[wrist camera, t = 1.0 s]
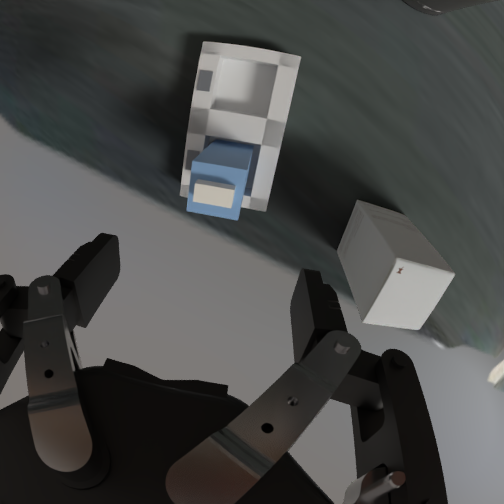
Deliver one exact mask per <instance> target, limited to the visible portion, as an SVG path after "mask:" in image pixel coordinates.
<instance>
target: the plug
mask: <svg viewBox="0 0 504 504" xmlns="http://www.w3.org/2000/svg"><path fill="white" fill-rule="evenodd" d="M253 148H254V146H252V145H247V144H241V143H236V142H230V141H224V140H218V139H215V140H214V141H213V142H212V143H211V144H210V145H209V146H208V147H207V148H206V149H204V150H203V151H202V152H201V153H200V154H199V155H198V156H197V157H196V158H195V159H194V160H193V161H192V167H191V175H190V184H189V193H188V202H187V211H189V212H195V213H201V214H206V215H212V216H217V217H222V218H228V219H233V220H238V217H239V213H240V209H241V204H242V200H243V196H244V191H245V187H246V183H247V178H248V173H249V168H250V163H251V158H252V153H253Z"/></svg>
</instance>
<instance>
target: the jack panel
mask: <svg viewBox="0 0 504 504" xmlns="http://www.w3.org/2000/svg"><path fill="white" fill-rule="evenodd" d="M300 59H301V57H300V56H296V55H291V54H287V53H282V52H277V51H272V50H267V49H261V48H255V47H249V46H242V45H234V44H226V43H217V42H206V41H203V45H202V50H201V55H200V60H199V65H198V70H197V75H196V81H195V87H194V92H193V98H192V104H191V111H190V117H189V124H188V131H187V138H186V146H185V154H184V162H183V171H182V180H181V190H180V196H183V197H188V193H189V184H190V175H191V167H192V161H193V160H194V159H195V158H196V157H197V156H198V155H199V154H200V153H201V152H202V151H203V150H204V149H206V148H207V147H208V146H209V145H210V144H211V143H212V142H213V141H214V140H215V139H218V140H224V141H230V142H236V143H241V144H247V145H252V146H254V148H253V153H252V158H251V163H250V168H249V173H248V178H247V183H246V187H245V191H244V196H243V200H242V204H241V207H244V208H249V209H254V210H259V211H264V212H266V208H267V204H268V200H269V195H270V191H271V187H272V182H273V178H274V174H275V169H276V165H277V161H278V156H279V152H280V147H281V143H282V139H283V134H284V130H285V126H286V121H287V117H288V112H289V108H290V103H291V99H292V95H293V90H294V86H295V81H296V77H297V72H298V68H299V64H300Z"/></svg>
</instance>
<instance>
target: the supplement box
mask: <svg viewBox="0 0 504 504" xmlns="http://www.w3.org/2000/svg"><path fill="white" fill-rule="evenodd" d="M337 254H338V256H339V259H340V261H341V264H342V267H343V269H344V272H345V275H346V277H347V280H348V283H349V286H350V288H351V291H352V294H353V297H354V300H355V302H356V305H357V308H358V311H359V314H360V317H361V320H362V323H367V324H375V325H383V326H390V327H397V328H405V329H413V330H419V329H420V328H421V326H422V325H423V324H424V322H425V321H426V319H427V318H428V316H429V315H430V313H431V312H432V310H433V309H434V307H435V306H436V304H437V303H438V301H439V300H440V298H441V296H442V295H443V293H444V292H445V290H446V288H447V287H448V285H449V284H450V282H451V281H452V279H453V277H454V276H455V273H454V272H453V270H452V269H451V268H450V266H449V265H448V264H447V263H446V261H445V260H444V259H443V258H442V256H441V255H440V254H439V253H438V252H437V250H436V249H435V248H434V247H433V246H432V245H431V243H430V242H429V241H428V240H427V239H426V238H425V237H424V235H423V234H422V233H421V232H420V231H419V230H418V229H417V228H416V227H415V225H414V224H413V223H412V222H411V221H410V220H409V219H408V218H407V216H406V215H403V214H400V213H398V212H395V211H392V210H389V209H386V208H383V207H380V206H376V205H373V204H370V203H367V202H364V201H360V200H357V201H356V204H355V206H354V209H353V211H352V214H351V217H350V219H349V222H348V224H347V227H346V229H345V232H344V234H343V236H342V239H341V242H340V244H339V246H338V249H337Z"/></svg>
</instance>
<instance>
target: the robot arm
mask: <svg viewBox="0 0 504 504" xmlns="http://www.w3.org/2000/svg"><path fill="white" fill-rule="evenodd" d="M403 1H404V2H406V3H407V4H408V5H409V6H411V7H413V8H414V9H416V10H418V11H420V12H423V13H426V14H430V15H440V14H444V13H447V12H451V11H454V10H458V9H462V8H466V7H470V6H474V5H479V4H483V3H488V2H493V1H498V0H403ZM119 273H120V256H119V242H118V237H117V236H116V235H110V234H106V233H100V234H99V235H98V236H97V237H96V238H95V239H94V240H93V241H92V242H88V243H86V244H84V245H82V246H80V247H79V248H78V249H77V251H75V252H74V254H72V256H71V257H70V258H69V260H67V261H66V262H65V263H64V264H63V265H62V266H61V267H60V268H59V269H58V270H57V272H56V273H55V274H54V275H53V276H50V275H46V276H41V277H39V278H37V279H35V280H34V281H33V282H32V283H31V284H30V286H29V287H28V286H16V284H15V281H14V278H13V277H12V276H11V275H6V274H5V275H0V322H1V324H2V326H3V328H2V329H1V331H0V394H1V392H2V390H3V388H4V386H5V384H6V382H7V380H8V378H9V376H10V374H11V372H12V370H13V369H14V367H15V365H16V363H17V361H18V360H19V358H20V356H21V354H22V353H23V351H24V356H25V368H26V377H27V386H28V393H29V395H28V396H26V397H25V398H22V399H21V400H19V401H17V402H15V403H13V404H11V405H9V406H7V407H5V408H3V409H1V410H0V504H334V503H333V501H332V500H331V499H330V498H329V497H328V496H327V495H326V494H325V493H324V492H323V491H322V490H321V489H320V487H319V486H318V485H317V484H316V483H315V482H314V481H313V480H312V479H311V478H310V476H309V475H308V474H307V473H306V472H305V471H304V470H303V469H302V467H301V466H300V465H299V464H298V463H297V462H296V461H295V460H294V458H293V457H292V456H291V455H290V453H288V450H289V449H290V448H291V447H292V446H293V445H294V444H295V442H296V441H297V440H298V439H299V437H300V436H301V435H302V434H303V433H304V432H305V430H306V429H307V428H308V427H309V425H310V424H311V423H312V421H313V420H314V419H315V418H316V417H317V415H318V414H319V413H320V411H321V410H322V409H323V407H324V406H325V405H326V404H327V402H328V401H329V399H333V400H336V401H339V402H343V403H346V404H349V405H350V407H351V415H352V425H353V434H354V444H355V456H356V469H357V480H355V481H353V482H352V483H351V484H350V485H349V486H348V487H347V489H346V492H345V497H344V502H343V504H448V500H447V495H446V488H445V482H444V476H443V471H442V466H441V461H440V457H439V452H438V447H437V443H436V439H435V435H434V431H433V427H432V423H431V419H430V416H429V412H428V409H427V405H426V402H425V398H424V395H423V392H422V389H421V386H420V382H419V379H418V376H417V373H416V370H415V367H414V364H413V362H412V360H411V359H410V357H409V356H408V355H407V354H405V353H404V352H402V351H400V350H397V349H388V350H386V351H385V352H384V353H383V354H382V356H378V355H375V354H372V353H369V352H366V351H363V350H362V349H361V345H360V343H359V341H358V340H357V339H356V338H355V337H354V336H353V335H351V334H349V333H348V331H347V328H346V325H345V321H344V317H343V314H342V311H341V307H340V304H339V303H338V302H339V301H338V297H337V294H336V292H335V291H334V290H333V288H332V287H331V286H330V285H329V284H323V281H322V278H321V274H320V272H319V271H315V270H309V269H302V270H301V271H300V274H299V277H298V281H297V284H296V287H295V290H294V293H293V296H292V300H291V306H290V314H291V325H292V335H293V336H292V337H293V349H294V361H295V363H294V364H293V365H292V366H291V367H290V368H289V369H288V370H287V371H286V372H285V373H284V374H283V375H282V376H281V377H280V378H279V379H278V380H277V381H276V382H275V383H273V385H271V386H270V387H269V388H268V389H267V390H266V391H265V392H264V393H263V394H262V395H261V396H260V397H259V398H258V399H256V400H255V401H254V402H253V403H252V404H251V405H250V406H248V405H247V404H246V403H244V402H242V401H241V400H239V399H237V398H235V397H233V396H231V395H228V394H227V391H228V385H223V384H217V383H210V382H204V381H199V380H162V379H159V378H157V377H155V376H153V375H151V374H149V373H147V372H145V371H143V370H141V369H139V368H138V367H135V366H133V365H130V364H126V363H122V362H119V361H115V360H112V359H109V358H107V360H106V361H105V364H104V366H93V367H86V368H83V367H82V363H81V359H80V355H79V352H78V347H77V343H76V338H75V334H74V331H73V329H74V327H75V326H76V325H78V326H81V327H84V328H86V327H87V325H88V323H89V322H90V320H91V319H92V317H93V315H94V314H95V312H96V311H97V309H98V307H99V306H100V304H101V303H102V301H103V300H104V298H105V297H106V295H107V293H108V292H109V291H110V289H111V287H112V286H113V285H114V283H115V282H116V280H117V279H118V276H119Z"/></svg>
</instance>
